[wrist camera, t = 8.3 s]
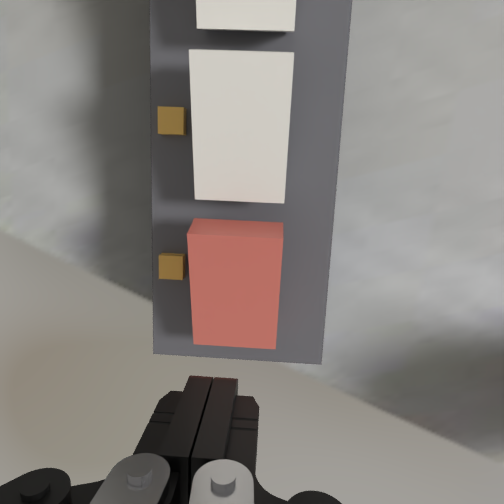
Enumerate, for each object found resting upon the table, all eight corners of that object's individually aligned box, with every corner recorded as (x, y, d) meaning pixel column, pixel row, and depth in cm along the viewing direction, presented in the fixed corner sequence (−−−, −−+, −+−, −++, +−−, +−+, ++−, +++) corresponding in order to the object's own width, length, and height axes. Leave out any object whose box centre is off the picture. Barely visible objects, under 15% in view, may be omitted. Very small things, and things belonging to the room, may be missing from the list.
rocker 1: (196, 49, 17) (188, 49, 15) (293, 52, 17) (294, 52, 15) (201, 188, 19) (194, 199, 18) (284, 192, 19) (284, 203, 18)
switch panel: (171, -117, 21) (139, -205, 16) (349, -115, 20) (373, -204, 15) (171, 325, 26) (147, 362, 21) (314, 333, 25) (323, 374, 20)
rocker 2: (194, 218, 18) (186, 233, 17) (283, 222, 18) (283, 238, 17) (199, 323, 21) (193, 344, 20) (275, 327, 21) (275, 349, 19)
